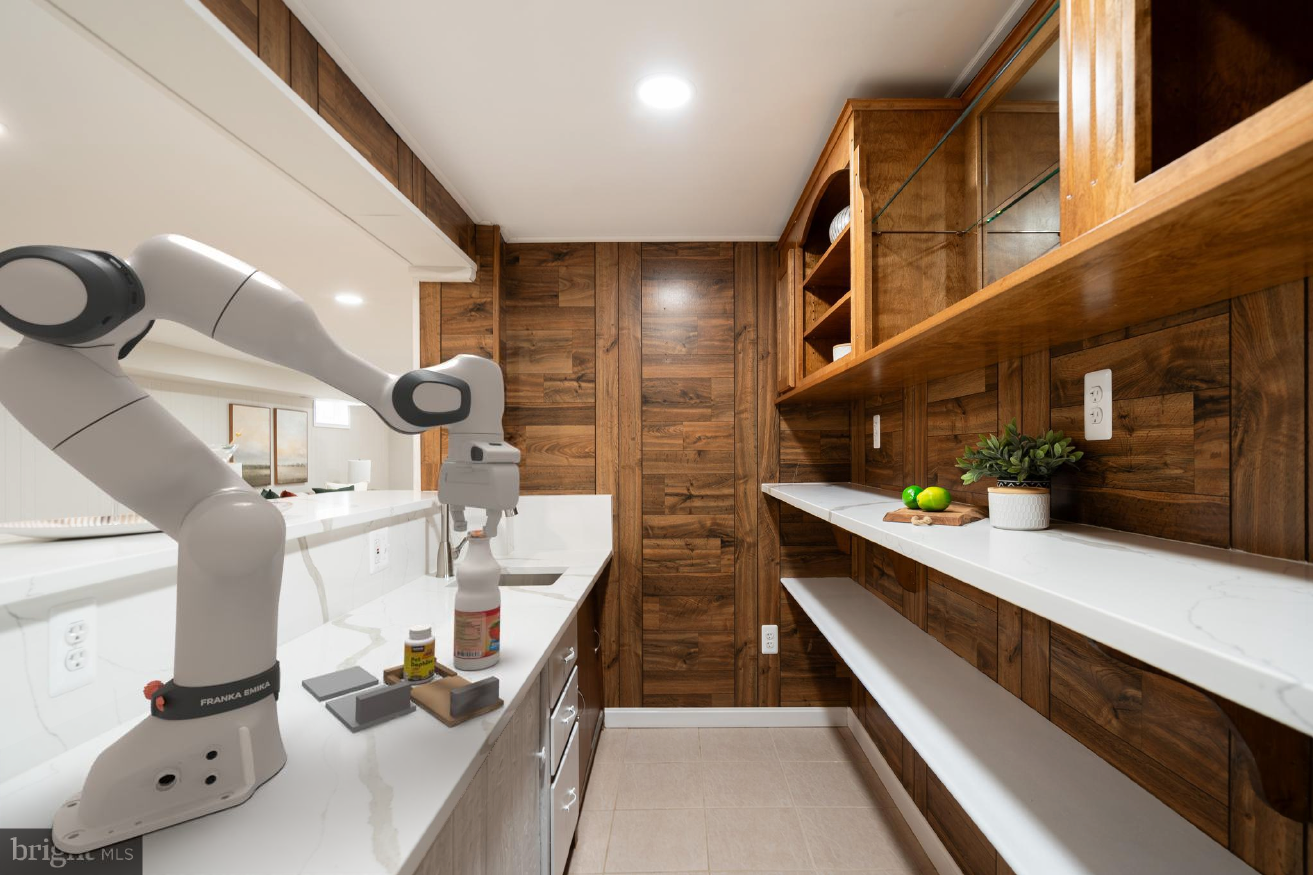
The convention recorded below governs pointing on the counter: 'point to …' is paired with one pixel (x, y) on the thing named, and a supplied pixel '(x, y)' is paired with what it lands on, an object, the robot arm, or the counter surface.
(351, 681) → the broken grey strip
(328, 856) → the counter surface
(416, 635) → the supplement bottle
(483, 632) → the fruit juice
